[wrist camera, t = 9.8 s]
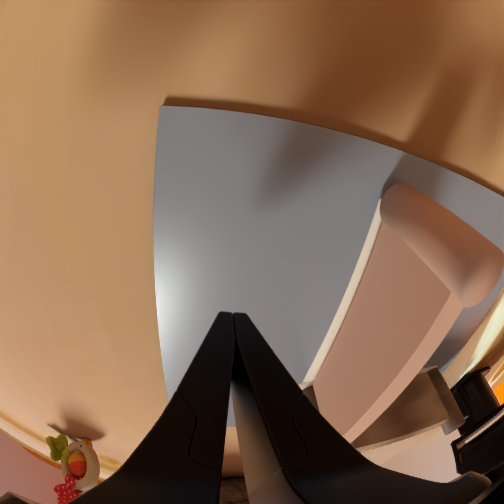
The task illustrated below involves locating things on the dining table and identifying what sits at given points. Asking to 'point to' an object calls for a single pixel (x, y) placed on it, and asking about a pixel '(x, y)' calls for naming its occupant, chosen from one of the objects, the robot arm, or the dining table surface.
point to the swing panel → (403, 306)
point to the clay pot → (233, 491)
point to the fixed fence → (410, 412)
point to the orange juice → (500, 392)
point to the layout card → (283, 232)
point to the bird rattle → (74, 466)
